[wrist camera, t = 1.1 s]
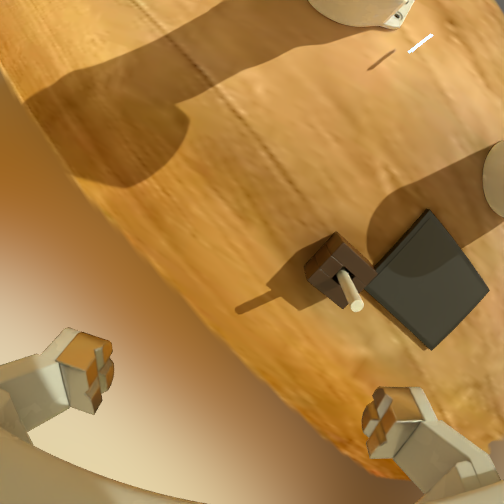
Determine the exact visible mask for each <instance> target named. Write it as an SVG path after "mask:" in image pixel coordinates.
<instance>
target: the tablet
mask: <svg viewBox="0 0 504 504" xmlns="http://www.w3.org/2000/svg"><path fill="white" fill-rule="evenodd" d="M374 269H375V270H376V272H377V273H378V275H377V276H376V277H375V278H374V279H373V280H372V281H371V282H370V283H369V284H368V285H367V286H366V287H365V288H364V289H365V290H366V291H367V292H368V293H369V294H370V295H371V296H372V297H374V298H375V299H376V300H377V301H378V302H379V303H380V304H381V305H382V306H384V307H385V308H386V309H387V310H388V311H389V312H390V313H391V314H392V315H393V316H395V317H396V318H397V319H398V320H399V321H400V322H401V323H402V324H403V325H404V326H405V327H407V328H408V329H409V330H410V331H411V332H412V333H413V334H414V335H415V336H416V337H417V338H418V339H419V340H420V341H422V342H423V343H424V344H425V345H426V346H427V347H428V348H429V349H430V350H431V351H432V350H433V349H434V348H435V347H436V346H437V345H438V344H439V343H440V342H441V341H442V340H443V339H444V338H445V337H446V336H448V335H449V334H450V333H451V332H452V331H453V330H454V329H455V328H456V327H457V326H458V324H459V323H460V322H461V321H462V320H463V319H464V318H465V317H466V316H467V315H468V314H469V313H470V312H471V311H472V310H473V309H474V308H475V306H476V305H477V304H478V303H479V302H480V301H481V300H482V299H483V298H484V296H485V295H486V294H487V293H488V292H489V291H490V290H489V288H488V287H487V285H486V284H485V282H484V281H483V279H482V278H481V276H480V275H479V274H478V272H477V271H476V269H475V268H474V266H473V265H472V264H471V262H470V261H469V259H468V258H467V257H466V255H465V254H464V253H463V251H462V250H461V249H460V247H459V246H458V245H457V243H456V242H455V241H454V239H453V238H452V237H451V235H450V234H449V233H448V232H447V230H446V229H445V228H444V227H443V225H442V224H441V223H440V222H439V220H438V219H437V218H436V217H435V215H434V214H433V213H432V212H431V211H430V210H429V209H426V210H425V212H424V213H423V214H422V215H421V216H420V217H419V219H418V220H417V221H416V222H415V223H414V224H413V225H412V227H411V228H410V229H409V230H408V231H407V232H406V233H405V234H404V235H403V237H402V238H401V239H400V240H399V241H398V242H397V243H396V244H395V245H394V246H393V248H392V249H391V250H390V251H389V252H388V253H387V254H386V255H385V256H384V257H383V258H382V259H381V260H380V261H379V262H378V264H377V265H376V266H375V267H374Z"/></svg>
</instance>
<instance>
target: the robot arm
mask: <svg viewBox="0 0 504 504" xmlns="http://www.w3.org/2000/svg"><path fill="white" fill-rule="evenodd" d="M308 1H309V3H310V4H311V5H312V6H313V7H314V8H315V9H316V10H317V11H318V12H320V13H321V14H323V15H324V16H326V17H327V18H329V19H331V20H333V21H336V22H338V23H341V24H344V25H348V26H354V27H368V26H381V27H385V28H388V29H393V30H396V29H398V28H399V27H400V26H401V25H402V23H403V21H404V19H405V17H406V16H407V14H408V12H409V10H410V8H411V6H412V5H413V3H414V1H415V0H308ZM394 15H396V16H397V17H398V18H396V17H395V16H394ZM432 36H433V35H432V34H430V35H429V36H428V37H426V38H425V39H424V40H422V41H421V42H420V43H418V44H417V45H416V46H415V47H413V48H412V49H411V50H410V51H408V52H409V53H411V52H412V51H414V50H415V49H416V48H418V47H419V46H420V45H421V44H423V43H424V42H425V41H426V40H428V39H429V38H430V37H432ZM112 352H113V350H112V343H111V342H110V341H108V340H105V339H102V338H99V337H96V336H93V335H90V334H87V333H84V332H80V331H78V330H75V329H72V328H69V327H68V328H65V329H64V330H63V331H62V332H61V333H60V334H59V335H58V336H57V337H56V338H55V340H54V341H53V342H52V343H51V344H50V345H49V346H48V347H47V348H46V349H45V351H44V352H43V353H42V354H41V355H38V354H34V355H31V356H28V357H25V358H22V359H19V360H15V361H12V362H9V363H6V364H3V365H0V504H206V503H200V502H195V501H190V500H185V499H180V498H176V497H172V496H167V495H163V494H159V493H155V492H151V491H148V490H144V489H141V488H138V487H134V486H131V485H128V484H125V483H122V482H118V481H116V480H113V479H109V478H107V477H104V476H101V475H99V474H96V473H93V472H91V471H88V470H86V469H83V468H81V467H78V466H76V465H73V464H71V463H69V462H67V461H64V460H62V459H59V458H58V457H55V456H53V455H51V454H49V453H47V452H45V451H43V450H41V449H39V448H37V447H35V446H33V443H32V441H31V439H30V437H29V435H28V434H27V432H28V431H30V430H32V429H34V428H35V427H37V426H39V425H41V424H42V423H44V422H46V421H48V420H50V419H51V418H53V417H55V416H57V415H58V414H60V413H62V412H64V411H65V410H67V409H69V408H70V407H72V408H75V409H78V410H81V411H84V412H86V413H89V414H92V415H94V414H95V413H96V411H97V409H98V407H99V405H100V404H101V402H102V395H101V394H102V393H104V392H106V391H108V389H109V388H110V386H111V383H112V380H113V376H114V363H113V361H112V360H111V359H110V355H111V354H112ZM372 396H373V399H374V401H372V402H371V403H370V404H368V405H367V406H366V408H365V410H364V412H363V416H362V429H363V433H364V434H366V435H367V436H368V437H369V439H368V440H367V442H366V445H367V449H368V453H369V457H370V459H380V458H393V460H394V461H395V462H396V463H397V464H398V466H399V467H400V468H401V469H402V470H403V471H404V472H405V473H406V474H407V476H408V477H409V478H410V479H411V480H412V481H413V482H414V483H415V484H416V485H417V486H418V488H419V489H420V490H421V491H422V492H423V493H424V494H425V495H424V496H423V497H422V498H420V499H419V500H418V501H417V502H416V503H415V504H504V480H501V479H500V477H499V475H498V473H497V471H496V469H495V467H494V464H493V462H492V461H491V458H490V456H489V455H488V454H487V453H486V452H484V451H483V450H481V449H480V448H479V447H477V446H476V445H475V444H473V443H472V442H470V441H469V440H468V439H466V438H465V437H464V436H462V435H461V434H459V433H458V432H457V431H455V430H454V429H453V428H451V427H450V426H449V425H447V424H446V423H445V422H443V421H442V420H439V421H438V419H437V417H436V415H435V413H434V411H433V409H432V407H431V405H430V403H429V401H428V399H427V397H426V395H425V393H424V391H423V390H422V389H421V388H420V387H381V386H379V387H378V388H377V389H376V390H375V392H374V394H373V395H372ZM69 406H70V407H69Z"/></svg>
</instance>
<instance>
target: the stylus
mask: <svg viewBox="0 0 504 504" xmlns="http://www.w3.org/2000/svg"><path fill="white" fill-rule="evenodd" d="M336 276H337V278H338V280H339V283H340V285H341V287H342V289H343V292H344V294H345V296H346V299H347V301H348V303H349V306H350V308H351V310H352V311H354V312H359V311H360V310H362V308H363V306H364V303H363V301H362V299H361V297H360V295H359V293H358V292H357V290H356V288H355V286H354V284H353V282H352V280H351V278H350V276H349V274H348V273H347V271H346V269H345V267H344V266H343V267H342V268H341V269H340V270H339V271H338V272H337V273H336Z"/></svg>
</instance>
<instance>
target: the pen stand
mask: <svg viewBox="0 0 504 504" xmlns="http://www.w3.org/2000/svg"><path fill="white" fill-rule="evenodd" d="M343 266H344V267H345V269H346V271H347V273H348V274H349V276H350V278H351V280H352V282H353V284H354V286H355V288H356V290H357V292H358V293H360V292H361V291H362V290H363V289H364V288H365V287H366V286H367V285H368V284H369V283H370V282H371V281H372V280H373V279H374V278H375V277H376V276H377V275H378V273H377V272H376V270H375V269H374V268H373V266H372V265H371V264H370V262H369V261H368V260H367V259H366V258H365V257H364V256H363V255H362V254H361V253H360V252H359V251H357V250H356V249H355V248H354V247H353V246H352V245H351V244H350V243H349V242H348V241H347V240H345V239H344V238H343V237H342V236H341V235H340V234H339V233H338V232H335V234H334V235H333V236H332V237H331V238H330V239H329V240H328V241H327V242H326V244H324V245H323V247H322V248H321V249H320V250H319V251H318V252H317V253H316V254H315V255H314V256H313V257H312V258H311V259H310V260H309V261H308V262H307V263H306V265H305V266H304V270H305V274H306V278H307V281H308V282H310V283H311V284H312V285H313V286H314V287H316V288H317V289H318V290H319V291H321V292H322V293H323V294H324V295H326V296H327V297H328V298H329V299H331V300H332V301H333V302H334V303H335V304H337V305H338V306H339V307H340V308H342V309H344V308H345V307H346V306H347V305H348V304H349V303H348V301H347V299H346V296H345V294H344V292H343V289H342V287H341V285H340V283H339V280H338V278H337V276H336V273H337V272H338V271H339V270H340V269H341V268H342V267H343Z"/></svg>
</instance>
